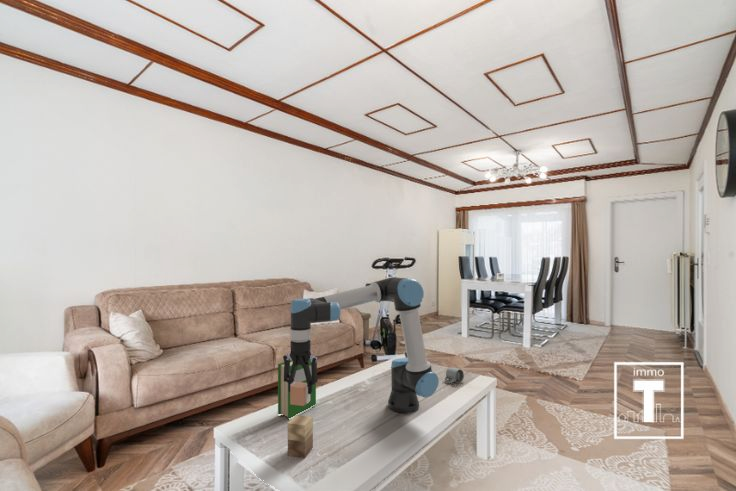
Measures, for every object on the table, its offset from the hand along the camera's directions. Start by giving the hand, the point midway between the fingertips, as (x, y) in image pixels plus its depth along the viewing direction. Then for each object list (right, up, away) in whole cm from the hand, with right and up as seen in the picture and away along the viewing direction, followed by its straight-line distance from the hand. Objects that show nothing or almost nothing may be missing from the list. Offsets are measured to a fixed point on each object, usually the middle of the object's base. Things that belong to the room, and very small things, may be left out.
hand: (300, 401), depth 137 cm
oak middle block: (0, -13, 0) cm, 13 cm away
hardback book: (-8, -20, +35) cm, 41 cm away
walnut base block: (0, -19, 0) cm, 19 cm away
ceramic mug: (+76, -21, +74) cm, 108 cm away
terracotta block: (0, 0, 0) cm, 0 cm away
